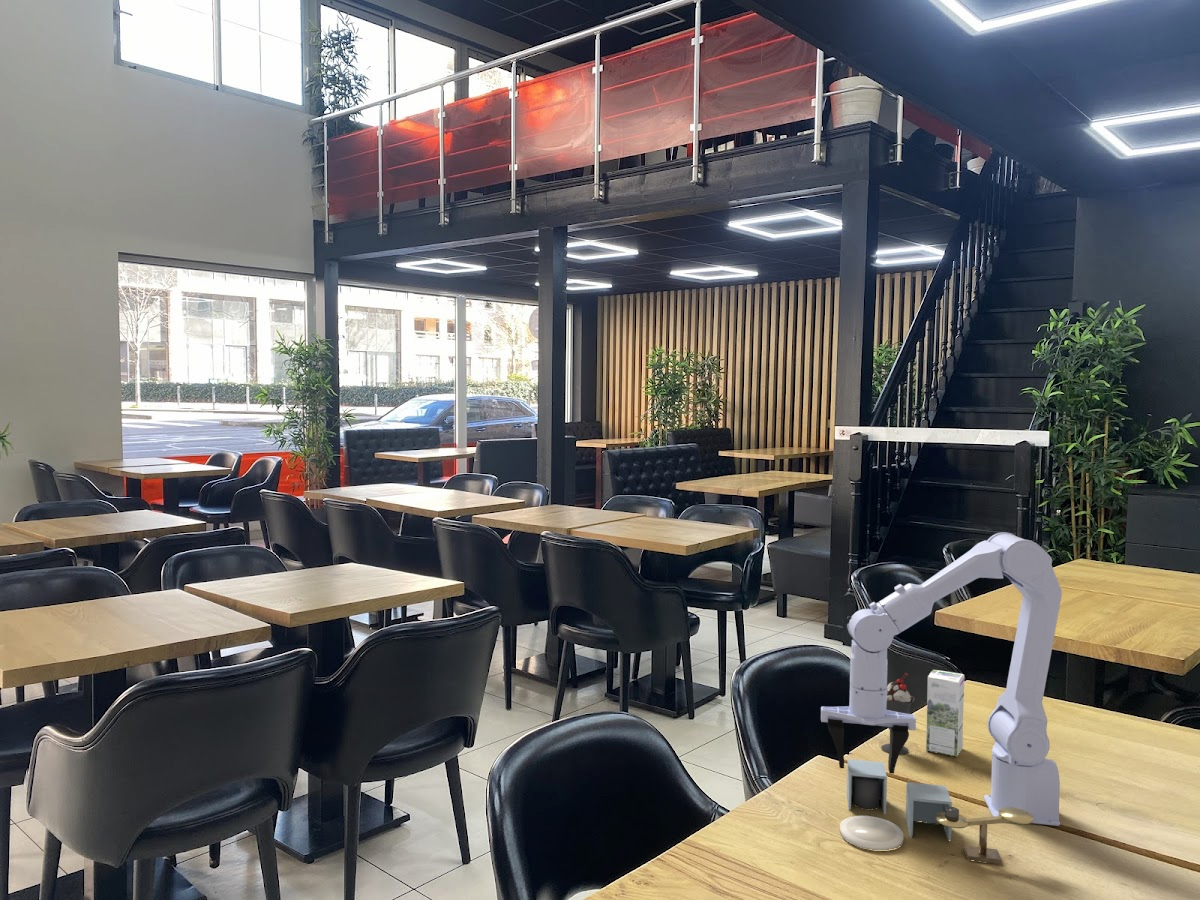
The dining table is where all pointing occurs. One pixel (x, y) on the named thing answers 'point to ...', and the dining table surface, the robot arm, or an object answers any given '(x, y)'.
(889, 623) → the robot arm
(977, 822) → the balance
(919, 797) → the cover
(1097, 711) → the dining table surface
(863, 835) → the dish
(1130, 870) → the dining table surface
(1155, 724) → the dining table surface
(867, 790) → the dark grey cylinder
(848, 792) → the cover
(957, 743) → the syrup box
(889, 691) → the sundae
